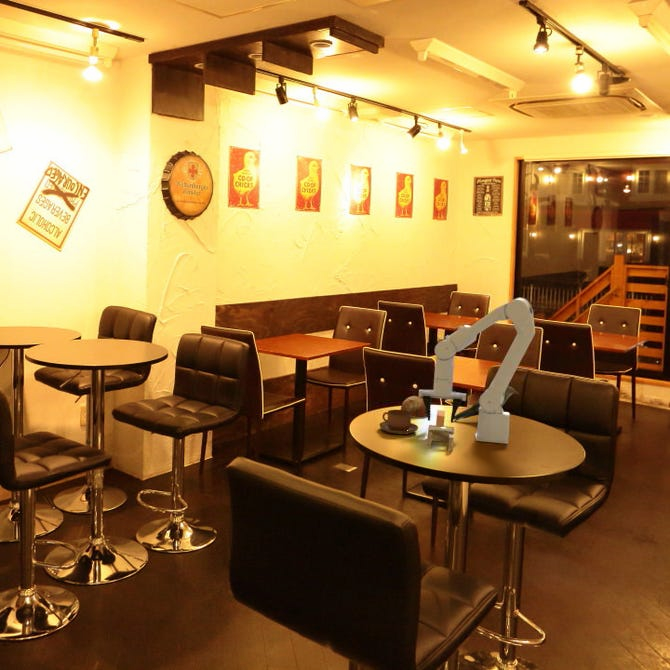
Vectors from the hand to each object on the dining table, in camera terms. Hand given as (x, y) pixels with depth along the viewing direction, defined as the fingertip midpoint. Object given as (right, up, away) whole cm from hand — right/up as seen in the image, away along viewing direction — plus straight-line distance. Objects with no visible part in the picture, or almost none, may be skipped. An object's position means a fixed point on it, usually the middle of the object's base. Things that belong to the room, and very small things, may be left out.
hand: (440, 421), depth 225 cm
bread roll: (-5, -1, +22) cm, 23 cm away
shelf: (-2, -5, -13) cm, 14 cm away
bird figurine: (+17, -3, +15) cm, 23 cm away
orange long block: (0, -4, 0) cm, 3 cm away
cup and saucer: (-13, -3, -1) cm, 14 cm away
